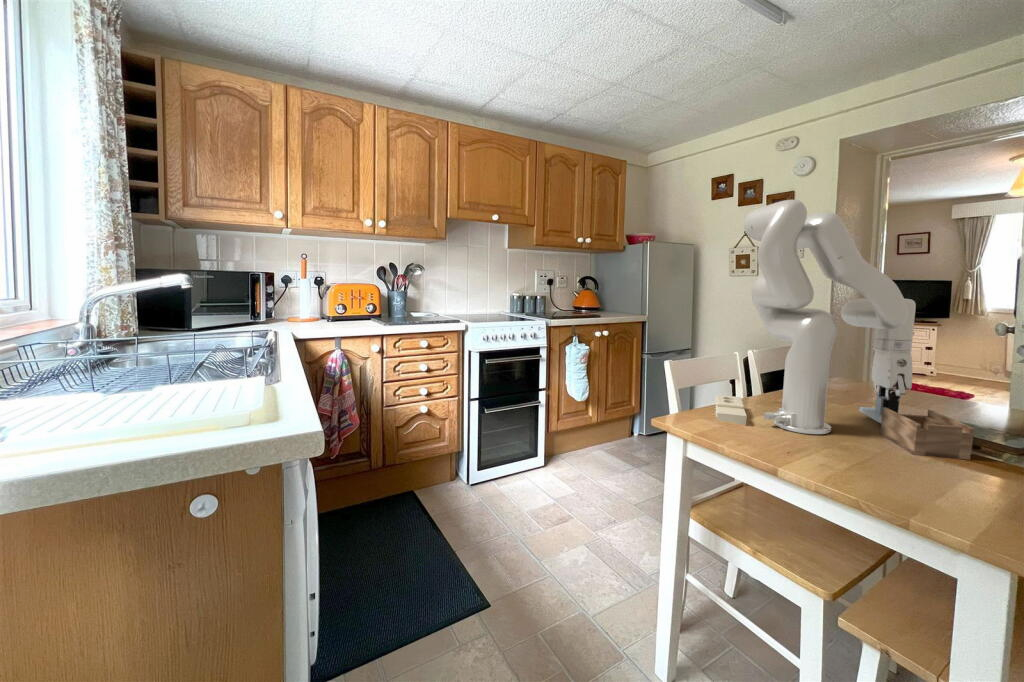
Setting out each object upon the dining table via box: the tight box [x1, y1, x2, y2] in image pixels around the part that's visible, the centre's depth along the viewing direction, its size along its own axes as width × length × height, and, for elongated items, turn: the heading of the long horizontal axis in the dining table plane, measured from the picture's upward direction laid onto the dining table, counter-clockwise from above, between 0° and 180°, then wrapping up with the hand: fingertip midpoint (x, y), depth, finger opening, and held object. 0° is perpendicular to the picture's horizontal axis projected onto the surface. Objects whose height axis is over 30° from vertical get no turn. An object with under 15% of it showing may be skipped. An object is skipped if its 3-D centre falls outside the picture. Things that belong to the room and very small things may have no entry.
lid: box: [858, 395, 901, 424], centre depth 115 cm, size 12×7×6 cm, turn 164°
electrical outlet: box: [714, 394, 748, 426], centre depth 125 cm, size 7×4×18 cm
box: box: [879, 407, 975, 460], centre depth 100 cm, size 14×10×7 cm
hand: (886, 412), depth 115 cm, fingers closed on lid, 2 cm apart
